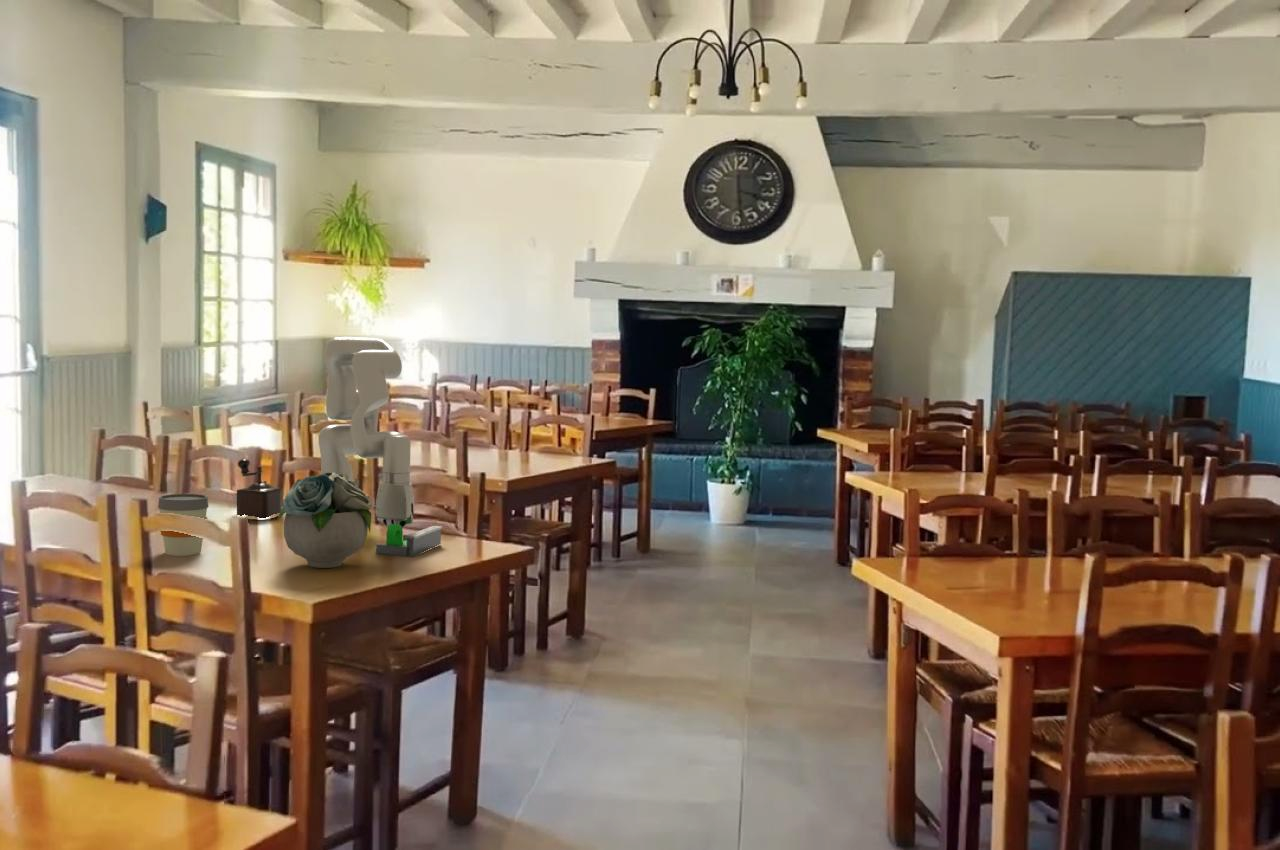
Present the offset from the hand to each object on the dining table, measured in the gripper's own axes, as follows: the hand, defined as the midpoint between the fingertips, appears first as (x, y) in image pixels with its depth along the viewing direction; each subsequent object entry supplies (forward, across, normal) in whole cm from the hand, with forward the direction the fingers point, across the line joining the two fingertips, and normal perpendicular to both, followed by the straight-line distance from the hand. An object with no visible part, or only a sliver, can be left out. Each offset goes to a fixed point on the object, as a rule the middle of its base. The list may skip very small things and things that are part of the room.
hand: (394, 542), depth 328 cm
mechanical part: (+2, +4, -2) cm, 5 cm away
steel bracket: (+2, +4, 0) cm, 5 cm away
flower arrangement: (+2, -6, -29) cm, 30 cm away
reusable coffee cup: (+2, -48, -29) cm, 56 cm away
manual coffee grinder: (+2, -64, +30) cm, 70 cm away
